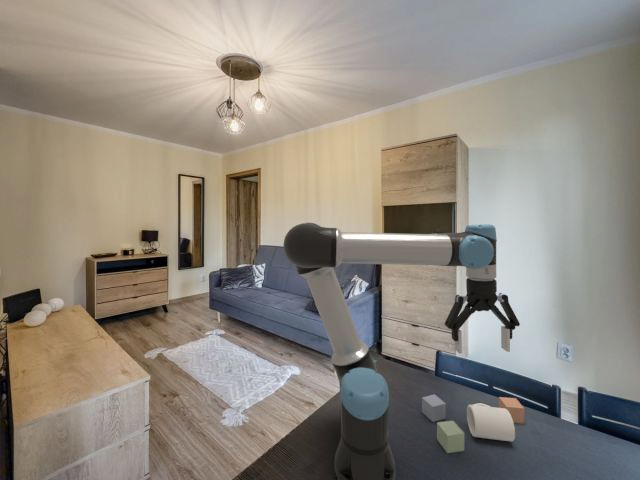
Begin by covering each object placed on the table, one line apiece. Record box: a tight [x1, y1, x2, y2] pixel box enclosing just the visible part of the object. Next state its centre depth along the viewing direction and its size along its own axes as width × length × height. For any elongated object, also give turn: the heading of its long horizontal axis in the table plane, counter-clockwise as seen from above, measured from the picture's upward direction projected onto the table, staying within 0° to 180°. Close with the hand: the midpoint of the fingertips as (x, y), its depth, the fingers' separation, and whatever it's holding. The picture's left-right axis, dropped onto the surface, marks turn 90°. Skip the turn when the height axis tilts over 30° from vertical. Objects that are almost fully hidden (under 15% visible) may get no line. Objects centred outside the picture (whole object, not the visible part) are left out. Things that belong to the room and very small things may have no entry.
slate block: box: [421, 394, 447, 423], centre depth 89 cm, size 5×5×5 cm
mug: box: [466, 402, 516, 443], centre depth 83 cm, size 12×10×8 cm
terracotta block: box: [498, 396, 526, 425], centre depth 88 cm, size 5×5×5 cm
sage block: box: [436, 420, 466, 454], centre depth 78 cm, size 5×5×5 cm
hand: (481, 350), depth 81 cm, fingers open, 13 cm apart
